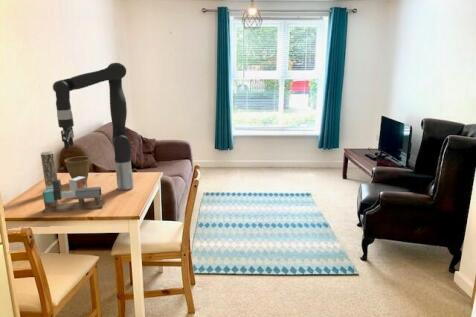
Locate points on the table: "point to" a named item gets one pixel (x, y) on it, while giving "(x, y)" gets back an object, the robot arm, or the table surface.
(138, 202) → the table surface
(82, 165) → the plant pot
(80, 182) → the small box
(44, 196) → the socket
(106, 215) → the table surface
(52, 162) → the paper tube
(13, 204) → the table surface
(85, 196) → the sleeve
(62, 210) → the rig base
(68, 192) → the grey block with post
